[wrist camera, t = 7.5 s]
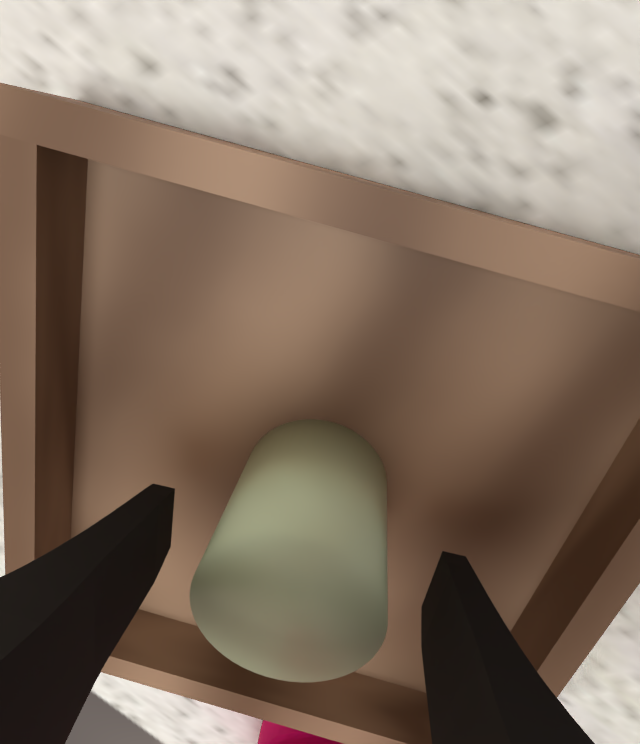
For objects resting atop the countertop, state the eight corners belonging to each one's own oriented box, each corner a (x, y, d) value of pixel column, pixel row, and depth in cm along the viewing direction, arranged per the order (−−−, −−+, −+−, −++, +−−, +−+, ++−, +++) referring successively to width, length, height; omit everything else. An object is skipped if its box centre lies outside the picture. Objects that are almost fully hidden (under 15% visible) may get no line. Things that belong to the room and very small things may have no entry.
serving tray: (736, 281, 13) (834, 313, 10) (477, 701, 20) (491, 787, 17) (75, 99, 13) (-10, 80, 10) (59, 579, 20) (7, 644, 17)
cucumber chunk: (399, 433, 14) (406, 557, 10) (373, 548, 16) (368, 699, 12) (252, 407, 15) (191, 516, 10) (242, 523, 16) (187, 660, 12)
